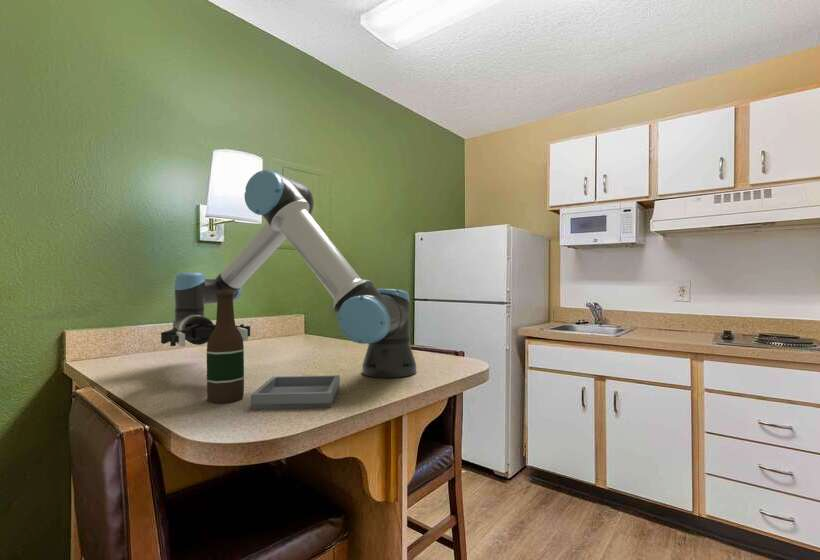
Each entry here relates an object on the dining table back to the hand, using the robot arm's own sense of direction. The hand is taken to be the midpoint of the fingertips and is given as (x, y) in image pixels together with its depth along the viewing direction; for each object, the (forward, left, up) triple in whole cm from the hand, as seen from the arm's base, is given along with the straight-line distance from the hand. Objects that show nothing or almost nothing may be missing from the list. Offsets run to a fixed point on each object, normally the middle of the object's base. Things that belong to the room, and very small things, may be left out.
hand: (216, 337), depth 98 cm
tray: (-20, +5, -13) cm, 25 cm away
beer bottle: (-4, +5, -13) cm, 15 cm away
